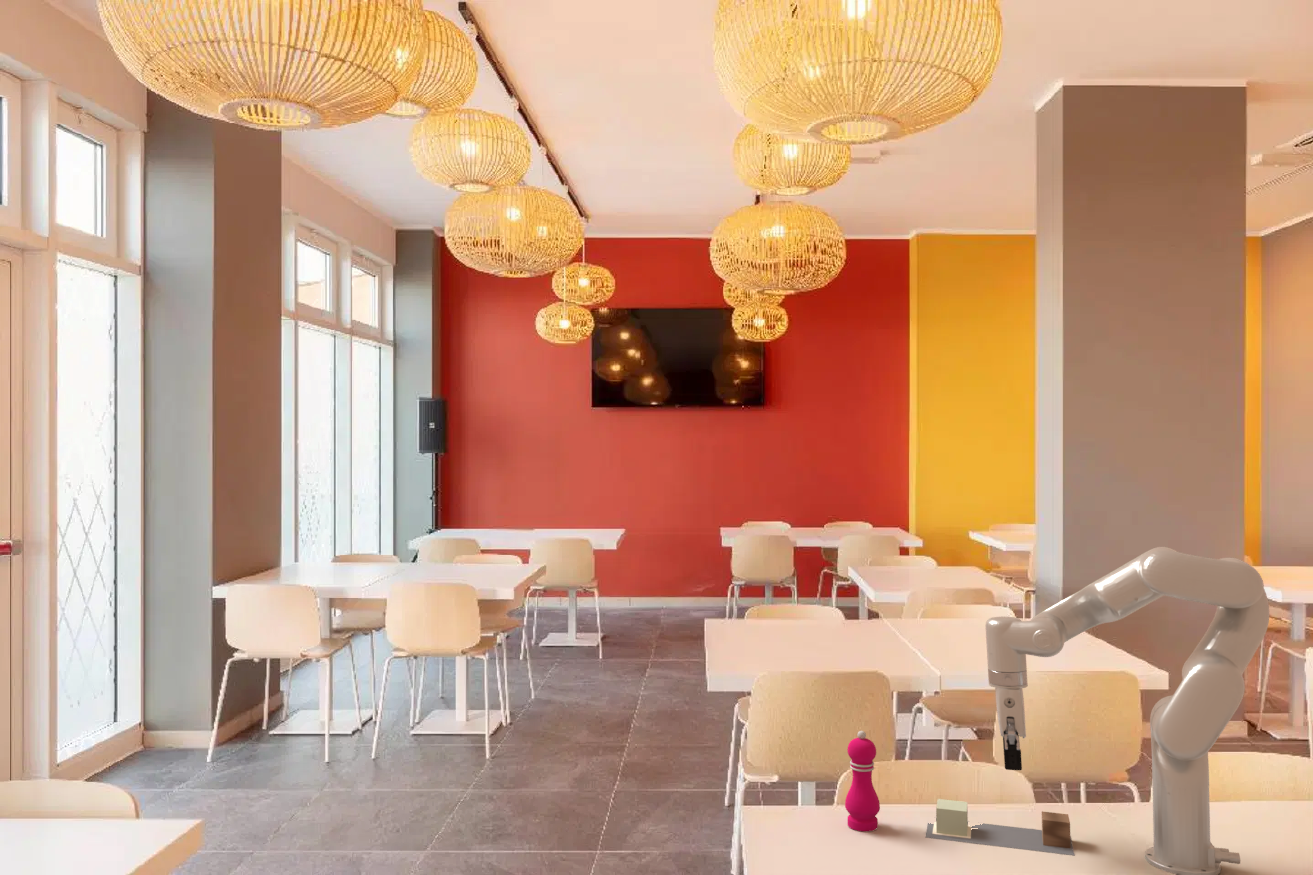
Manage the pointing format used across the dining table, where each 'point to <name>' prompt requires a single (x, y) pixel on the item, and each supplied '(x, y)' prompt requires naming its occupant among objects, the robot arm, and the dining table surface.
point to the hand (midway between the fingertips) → (1012, 762)
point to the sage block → (951, 817)
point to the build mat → (1001, 838)
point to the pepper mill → (862, 785)
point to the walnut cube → (1056, 829)
